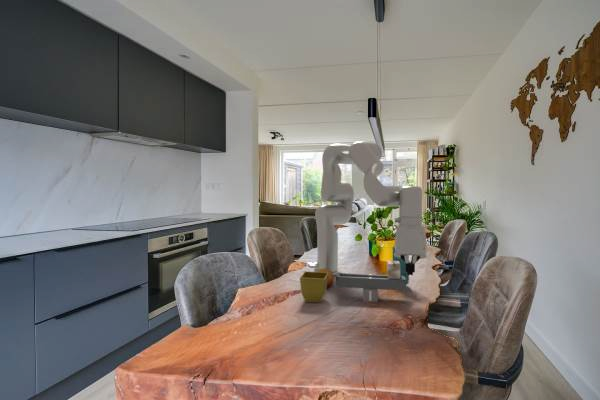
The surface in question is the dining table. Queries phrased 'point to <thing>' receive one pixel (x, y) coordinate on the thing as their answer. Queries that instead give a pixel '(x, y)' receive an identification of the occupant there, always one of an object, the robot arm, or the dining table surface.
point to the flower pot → (313, 286)
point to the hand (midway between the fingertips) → (409, 274)
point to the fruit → (330, 276)
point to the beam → (370, 284)
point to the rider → (393, 269)
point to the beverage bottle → (401, 266)
